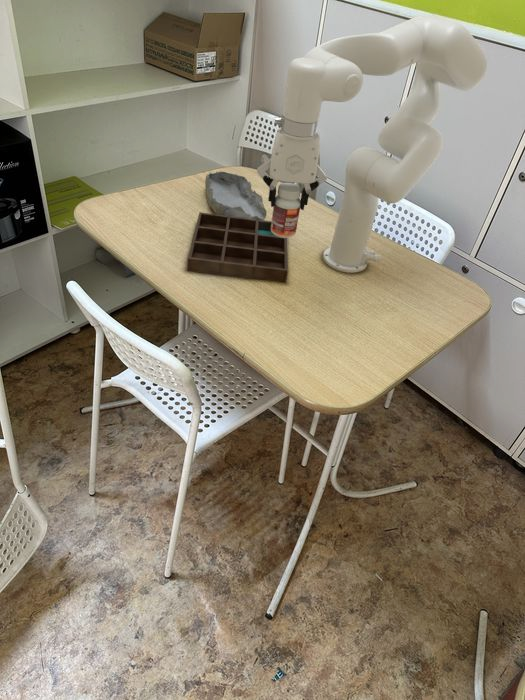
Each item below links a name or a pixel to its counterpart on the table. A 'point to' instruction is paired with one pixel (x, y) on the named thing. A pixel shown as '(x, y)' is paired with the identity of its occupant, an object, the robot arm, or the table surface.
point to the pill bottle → (286, 210)
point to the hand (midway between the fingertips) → (287, 205)
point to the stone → (233, 196)
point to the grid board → (238, 248)
